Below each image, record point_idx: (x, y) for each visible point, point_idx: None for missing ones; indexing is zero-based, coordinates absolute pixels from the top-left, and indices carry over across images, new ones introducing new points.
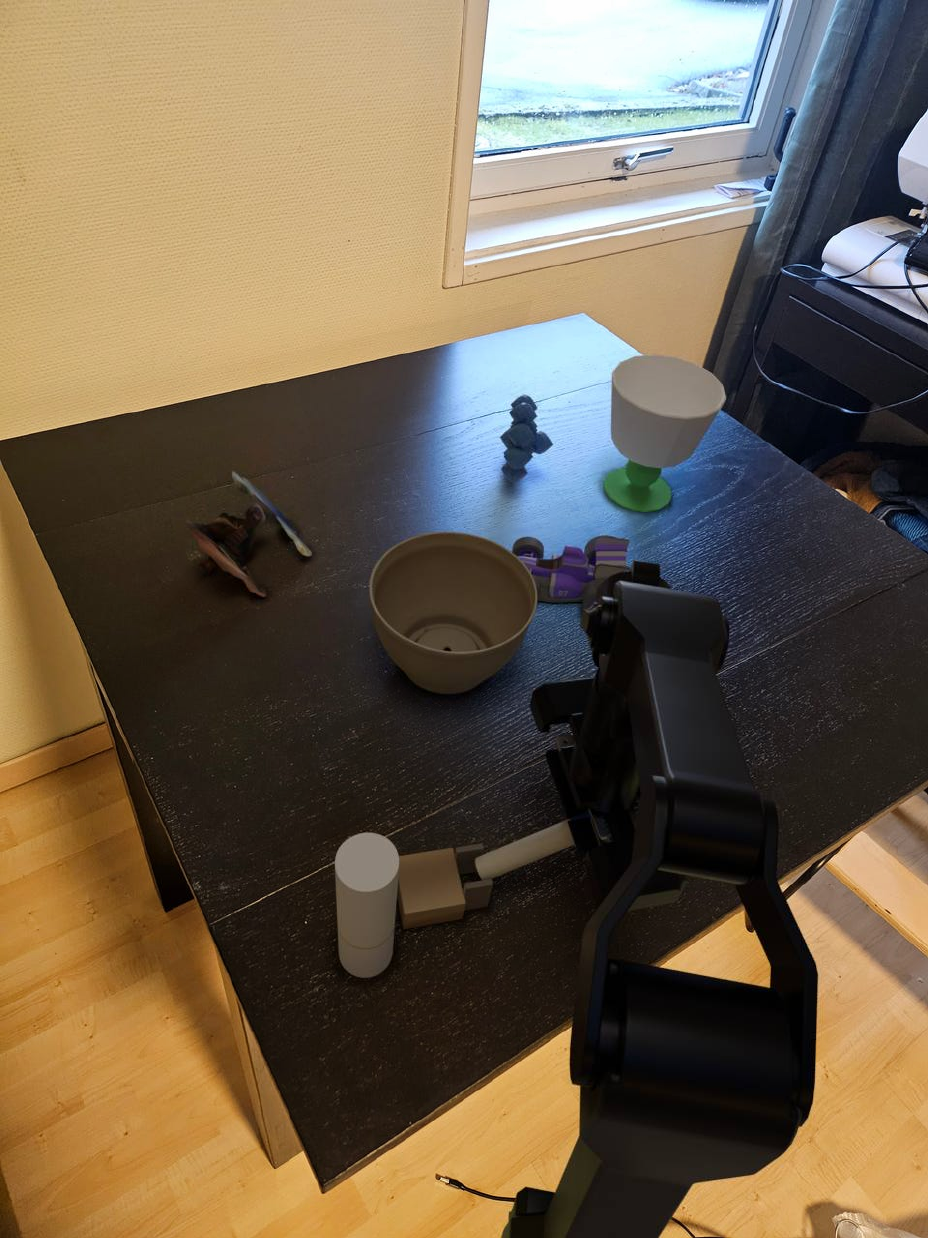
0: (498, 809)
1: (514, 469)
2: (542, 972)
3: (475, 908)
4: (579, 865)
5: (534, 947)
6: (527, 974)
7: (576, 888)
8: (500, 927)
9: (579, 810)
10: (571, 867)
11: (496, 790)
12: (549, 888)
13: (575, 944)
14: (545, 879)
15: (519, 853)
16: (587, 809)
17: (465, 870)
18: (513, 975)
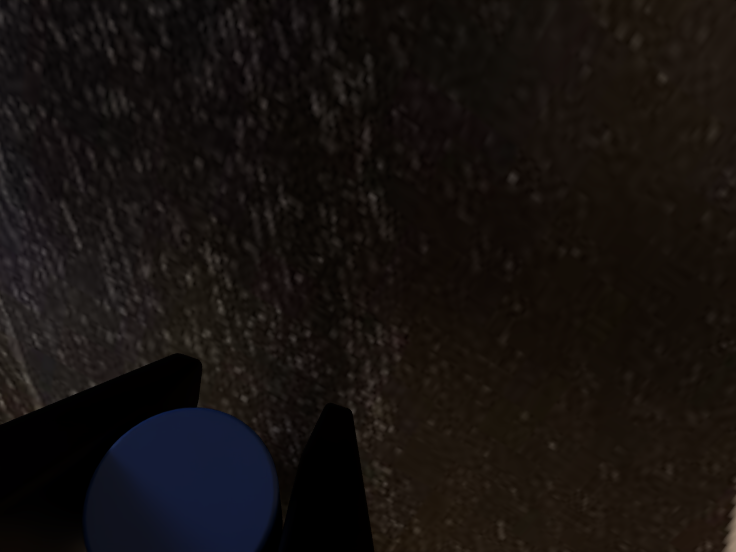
0: (79, 324)
1: None
2: (590, 494)
3: None
4: (339, 208)
5: (514, 472)
6: (570, 524)
7: (411, 267)
8: (416, 505)
9: (82, 534)
10: (335, 238)
11: (16, 295)
12: (372, 341)
13: (577, 379)
14: (340, 334)
15: None
16: (85, 489)
17: None
18: (550, 549)
